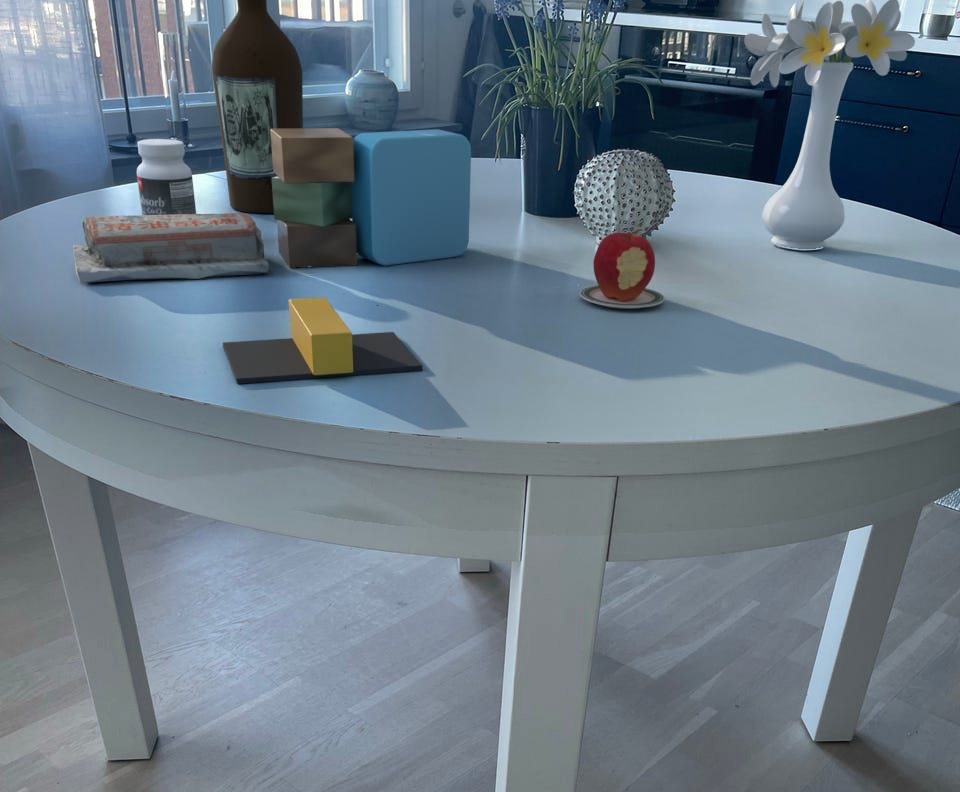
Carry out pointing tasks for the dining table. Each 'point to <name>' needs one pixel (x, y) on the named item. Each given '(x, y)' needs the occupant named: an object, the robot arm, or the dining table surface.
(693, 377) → the dining table surface
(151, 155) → the pill bottle
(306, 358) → the bar
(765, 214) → the flower vase
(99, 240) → the packaged product
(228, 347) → the mat
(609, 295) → the apple
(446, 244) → the data package
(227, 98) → the olive oil
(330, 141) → the tower
